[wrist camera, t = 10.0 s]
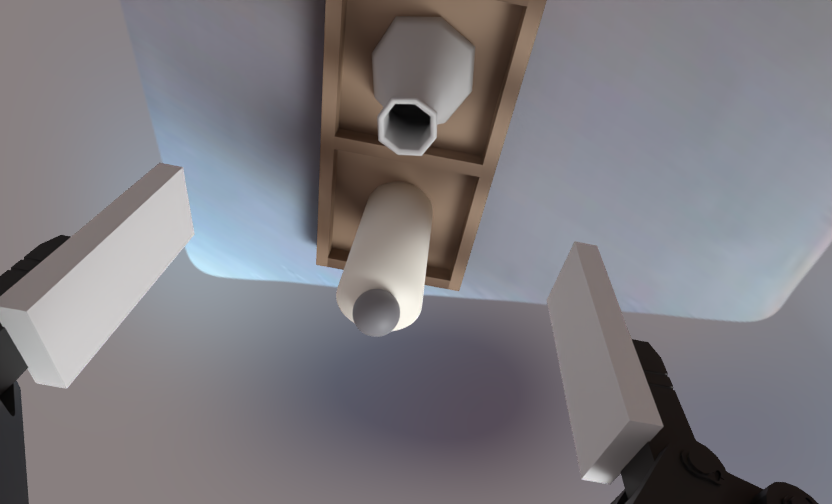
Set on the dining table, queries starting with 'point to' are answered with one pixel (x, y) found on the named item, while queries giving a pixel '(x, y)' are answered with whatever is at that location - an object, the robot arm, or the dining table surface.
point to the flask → (419, 80)
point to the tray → (456, 139)
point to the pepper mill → (388, 260)
